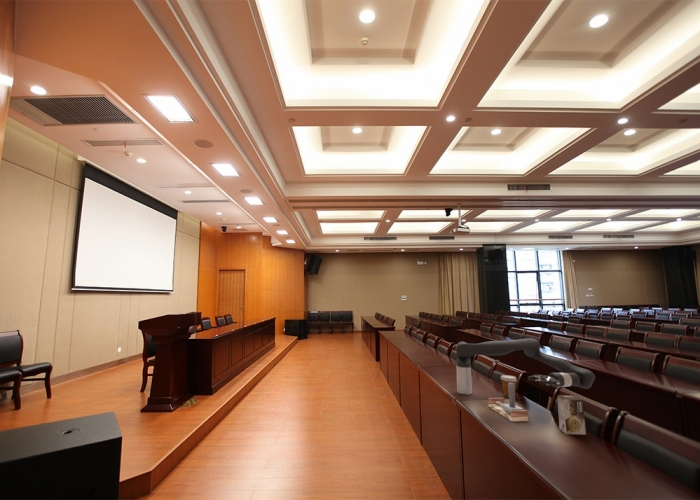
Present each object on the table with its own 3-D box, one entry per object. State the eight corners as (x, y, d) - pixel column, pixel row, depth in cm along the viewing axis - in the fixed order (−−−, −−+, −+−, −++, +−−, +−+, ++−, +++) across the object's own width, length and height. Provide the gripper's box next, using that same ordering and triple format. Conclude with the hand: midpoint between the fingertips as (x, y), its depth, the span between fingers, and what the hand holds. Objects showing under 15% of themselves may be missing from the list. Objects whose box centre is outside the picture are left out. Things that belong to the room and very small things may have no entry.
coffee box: (578, 429, 160) (575, 395, 162) (586, 435, 154) (583, 399, 156) (558, 428, 161) (556, 394, 163) (566, 434, 154) (563, 398, 157)
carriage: (502, 410, 179) (500, 381, 181) (513, 409, 180) (512, 381, 182) (511, 415, 171) (509, 385, 173) (523, 414, 172) (521, 385, 174)
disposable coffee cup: (498, 394, 216) (497, 375, 217) (508, 392, 220) (507, 374, 221) (510, 398, 207) (509, 379, 209) (520, 396, 211) (519, 377, 213)
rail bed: (488, 407, 190) (488, 398, 191) (502, 406, 192) (502, 397, 192) (512, 421, 169) (511, 411, 170) (527, 420, 170) (527, 410, 171)
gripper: (549, 369, 190) (524, 370, 187) (569, 375, 176) (542, 376, 173) (550, 383, 189) (525, 384, 186) (570, 390, 175) (543, 391, 172)
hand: (533, 380), depth 180 cm, fingers open, 8 cm apart
